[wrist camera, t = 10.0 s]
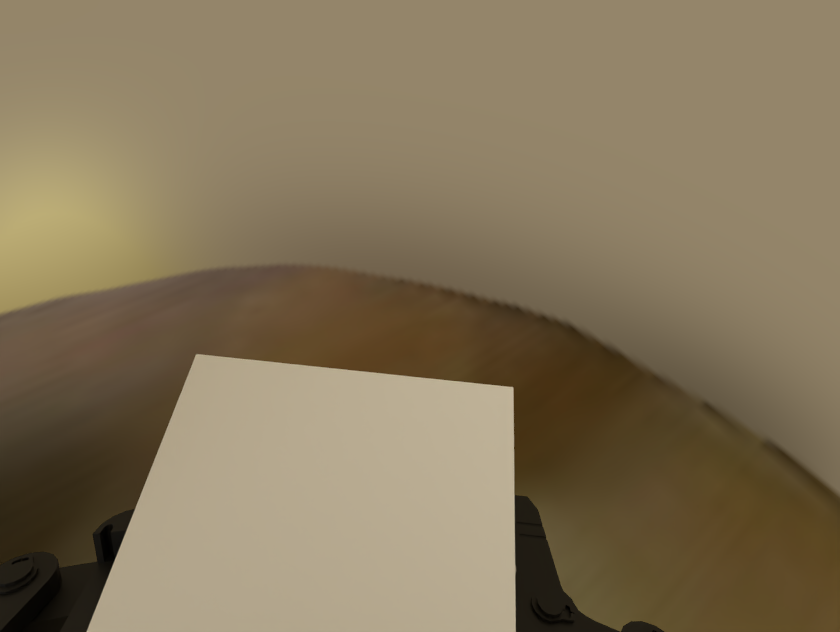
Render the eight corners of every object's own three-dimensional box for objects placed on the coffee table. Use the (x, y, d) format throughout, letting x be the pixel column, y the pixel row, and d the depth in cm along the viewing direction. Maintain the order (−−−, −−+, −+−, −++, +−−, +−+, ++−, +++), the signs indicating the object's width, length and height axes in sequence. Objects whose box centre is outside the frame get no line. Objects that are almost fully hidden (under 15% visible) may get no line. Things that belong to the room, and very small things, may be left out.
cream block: (291, 619, 16) (13, 817, 5) (323, 462, 19) (196, 354, 8) (440, 637, 16) (518, 885, 5) (450, 476, 19) (513, 387, 8)
